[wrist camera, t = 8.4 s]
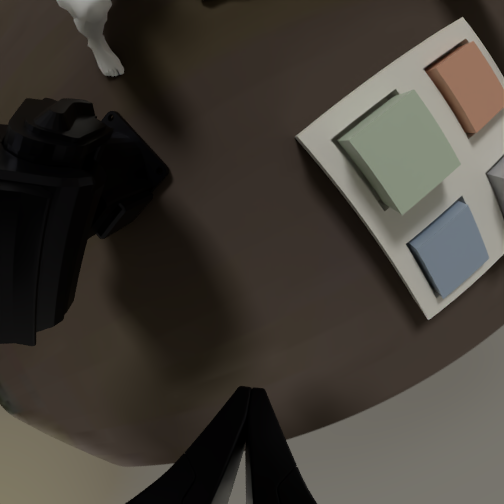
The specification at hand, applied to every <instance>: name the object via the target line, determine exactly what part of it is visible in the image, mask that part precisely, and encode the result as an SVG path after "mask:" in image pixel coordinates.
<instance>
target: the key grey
mask: <svg viewBox="0 0 504 504" xmlns="http://www.w3.org/2000/svg"><path fill="white" fill-rule="evenodd" d="M487 175H488V178H489V180H490V182H491V185H492V187H493V189H494V192H495V194H496V197H497V199H498V202H499V205H500V207H501V210H502V213H503V216H504V157H503V158H502V159H501V160H500V161H499V162H498V163H497V164H496V165H495V166H494V167H493V168H492V169H491V170H490V171H489V172H488V173H487Z"/></svg>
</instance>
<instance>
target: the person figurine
mask: <svg viewBox="0 0 504 504" xmlns="http://www.w3.org/2000/svg"><path fill="white" fill-rule="evenodd" d="M56 1H57V3H58V4H59V6H60V7H61V8H63V9H65V10H68V12H69V13H70V14H71V15H72V17H73V18H74V22H75V24H76V26H77V29H78V31H79V32H80V33H82V34H83V35H84V36H85V37H87V38H88V46H89V47H90V48H91V49H92V51H93V53H94V56H95V58H96V61H97V63H98V66H99V68H100V70H101V71H102V73H103V74H104V75H105V76H107V75H108V76H111V75H112V77H114V76H117V75H119V74H120V75H122V74H124V67H123V66H122V65H121V62H120V60H119V58H118V57H117V56H116V55H115V54H114V53H113V52H112V50H111V49H110V47H109V46H108V44H107V42H106V41H105V38H104V36H103V29H104V24H105V23H106V21H107V12H108V11H109V9H110V8H111V6H112V2H111V0H56ZM117 70H118V72H119V74H118V72H117Z"/></svg>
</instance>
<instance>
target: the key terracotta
mask: <svg viewBox="0 0 504 504" xmlns="http://www.w3.org/2000/svg"><path fill="white" fill-rule="evenodd" d="M424 71H425V72H426V73H427V75H428V76H429V77H430V79H431V80H432V82H433V83H434V84H435V86H436V87H437V89H438V90H439V92H440V93H441V95H442V96H443V98H444V99H445V101H446V102H447V104H448V105H449V107H450V108H451V110H452V112H453V113H454V115H455V117H456V118H457V120H458V122H459V123H460V125H461V127H462V129H463V130H464V132H465V133H477V132H478V131H479V130H480V129H482V128H483V127H484V126H485V125H486V124H487V123H488V122H489V121H490V120H491V119H492V118H493V117H494V116H495V115H496V114H497V113H498V112H499V111H500V110H501V109H502V108H503V107H504V89H503V87H502V85H501V83H500V82H499V80H498V78H497V76H496V75H495V73H494V71H493V70H492V68H491V66H490V65H489V63H488V62H487V60H486V59H485V57H484V55H483V54H482V52H481V51H480V49H479V48H478V47H477V45H476V44H475V42H474V41H472V42H469V43H467V44H464V45H462V46H460V47H457V48H455V49H453V50H451V51H450V52H448V53H447V54H446V55H444V56H443V57H441V58H440V59H439V60H437V61H436V62H435V63H433V64H432V65H430V66H429V67H428V68H426V69H425V70H424Z"/></svg>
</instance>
